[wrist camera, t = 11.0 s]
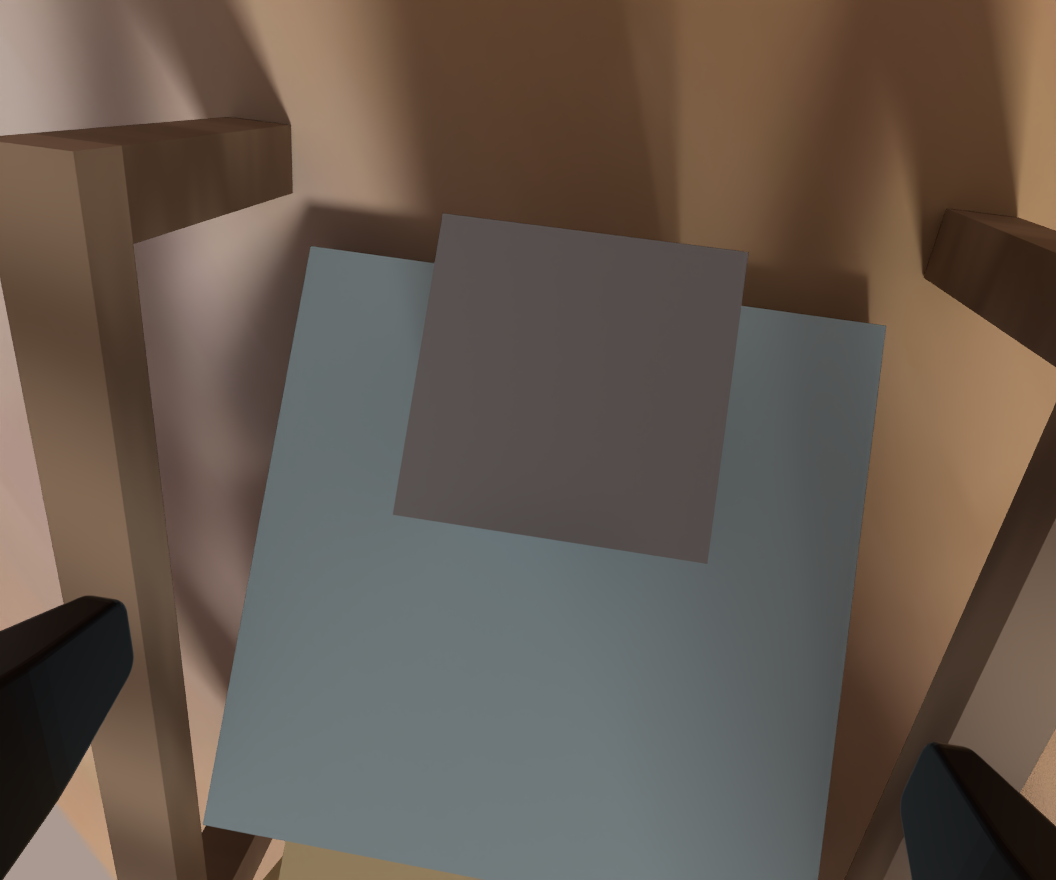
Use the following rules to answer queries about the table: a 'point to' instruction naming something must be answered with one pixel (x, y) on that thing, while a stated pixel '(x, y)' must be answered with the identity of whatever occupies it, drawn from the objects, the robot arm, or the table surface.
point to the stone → (573, 386)
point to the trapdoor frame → (137, 503)
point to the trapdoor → (541, 632)
